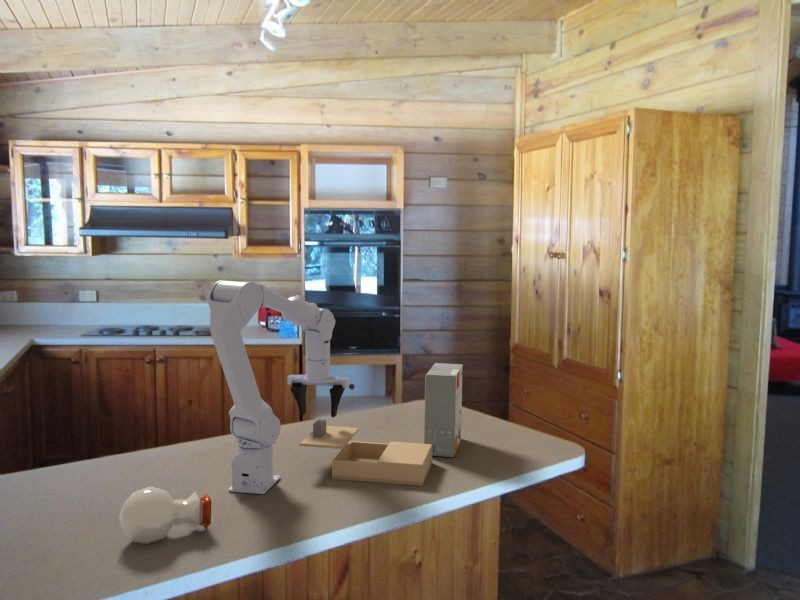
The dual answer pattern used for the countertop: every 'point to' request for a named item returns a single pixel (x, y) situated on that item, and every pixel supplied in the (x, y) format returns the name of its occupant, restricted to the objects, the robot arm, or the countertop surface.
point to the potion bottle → (161, 514)
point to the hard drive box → (443, 408)
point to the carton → (383, 462)
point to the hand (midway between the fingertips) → (318, 415)
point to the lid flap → (329, 436)
